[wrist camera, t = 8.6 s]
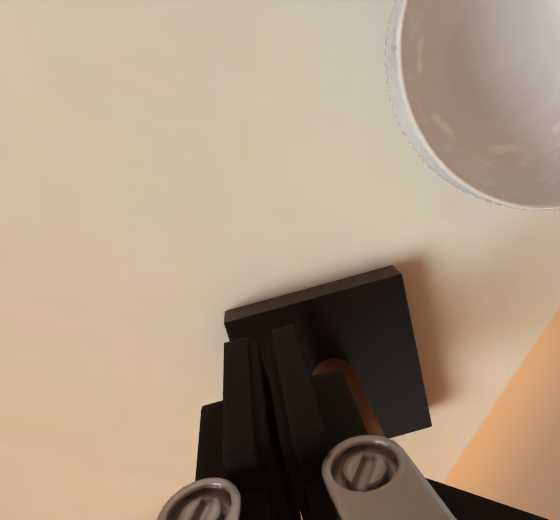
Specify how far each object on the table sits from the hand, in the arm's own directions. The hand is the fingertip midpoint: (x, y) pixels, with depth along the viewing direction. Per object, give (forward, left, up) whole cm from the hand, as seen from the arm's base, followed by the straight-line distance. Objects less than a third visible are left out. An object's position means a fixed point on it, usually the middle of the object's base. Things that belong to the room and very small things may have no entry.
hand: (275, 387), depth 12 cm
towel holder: (+5, -11, -13) cm, 18 cm away
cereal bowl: (+12, +13, -22) cm, 29 cm away
